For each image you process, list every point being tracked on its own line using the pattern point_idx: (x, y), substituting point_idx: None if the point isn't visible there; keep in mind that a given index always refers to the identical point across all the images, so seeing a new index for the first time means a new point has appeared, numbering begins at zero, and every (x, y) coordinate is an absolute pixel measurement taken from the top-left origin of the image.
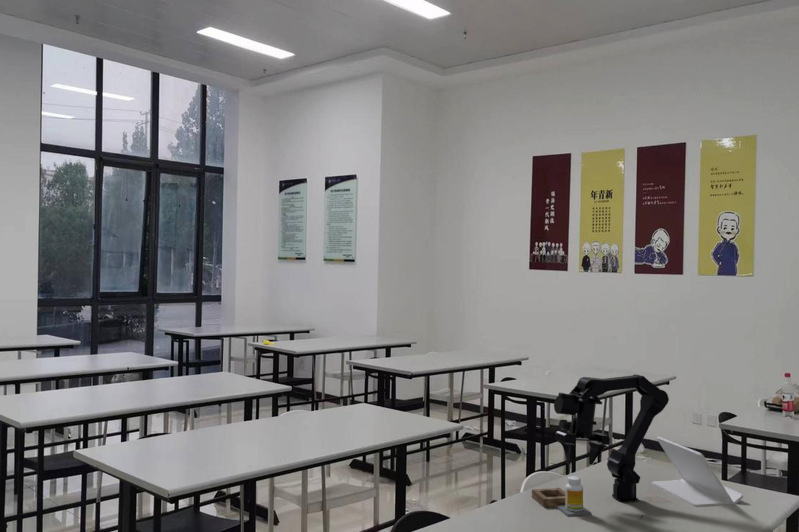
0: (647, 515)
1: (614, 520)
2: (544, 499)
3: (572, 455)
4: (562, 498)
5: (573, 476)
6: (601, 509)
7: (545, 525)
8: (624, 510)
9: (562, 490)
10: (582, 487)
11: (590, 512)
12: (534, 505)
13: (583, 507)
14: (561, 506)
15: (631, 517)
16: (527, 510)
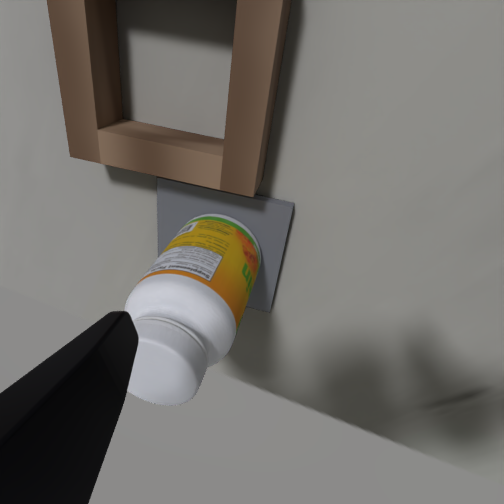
0: (498, 402)
1: (317, 375)
2: (76, 157)
3: (81, 497)
4: (186, 181)
5: (161, 353)
6: (366, 279)
7: (53, 306)
8: (463, 331)
9: (271, 26)
10: (215, 363)
11: (266, 308)
12: (57, 98)
13: (277, 252)
14: (176, 197)
15: (409, 386)
16: (11, 153)
